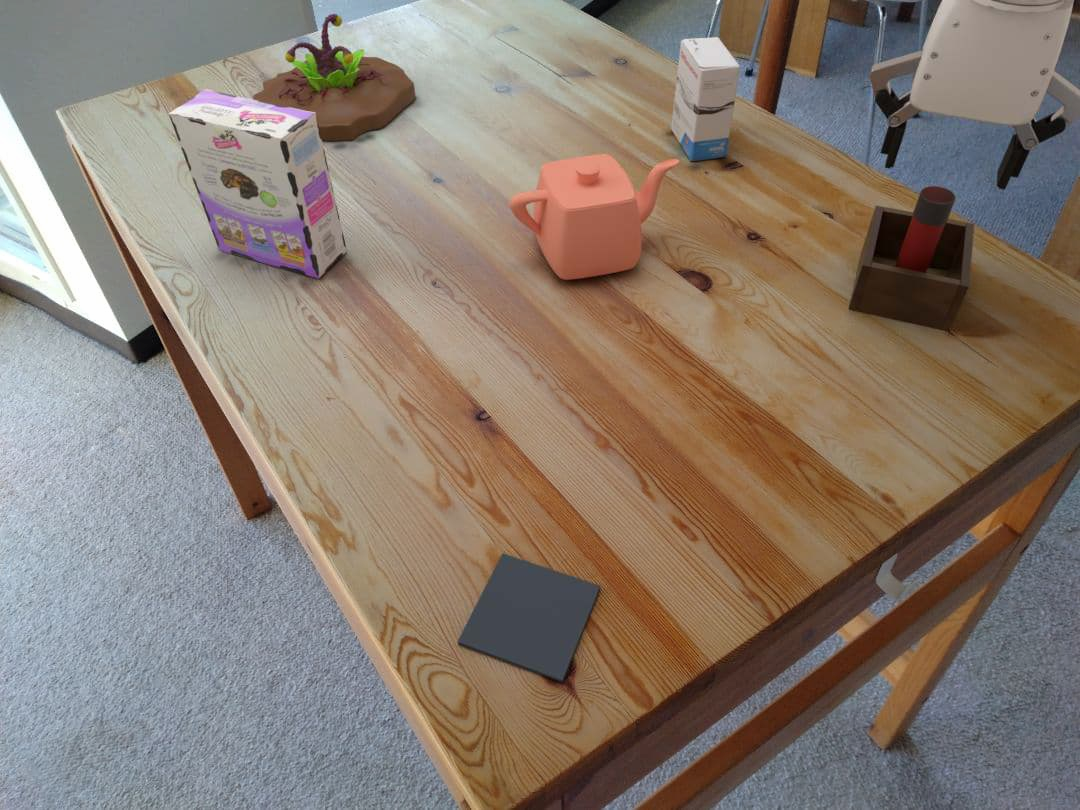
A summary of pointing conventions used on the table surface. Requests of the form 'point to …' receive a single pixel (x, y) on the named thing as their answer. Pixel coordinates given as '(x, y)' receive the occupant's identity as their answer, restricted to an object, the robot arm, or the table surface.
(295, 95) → the plant
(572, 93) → the table surface
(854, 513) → the table surface
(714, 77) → the ink box
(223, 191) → the candy box
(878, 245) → the wooden box
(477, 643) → the desk pad
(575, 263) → the teapot
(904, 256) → the marker pen
